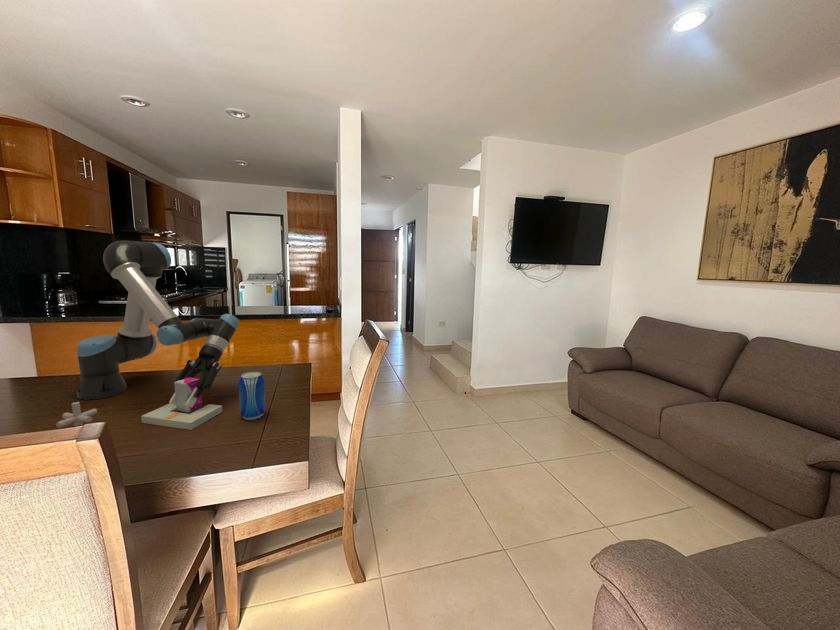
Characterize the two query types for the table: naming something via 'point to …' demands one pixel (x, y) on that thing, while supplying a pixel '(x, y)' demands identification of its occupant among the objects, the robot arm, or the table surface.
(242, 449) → the table surface
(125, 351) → the robot arm
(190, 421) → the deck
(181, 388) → the supplement box
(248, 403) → the beer can
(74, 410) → the pipe connector
